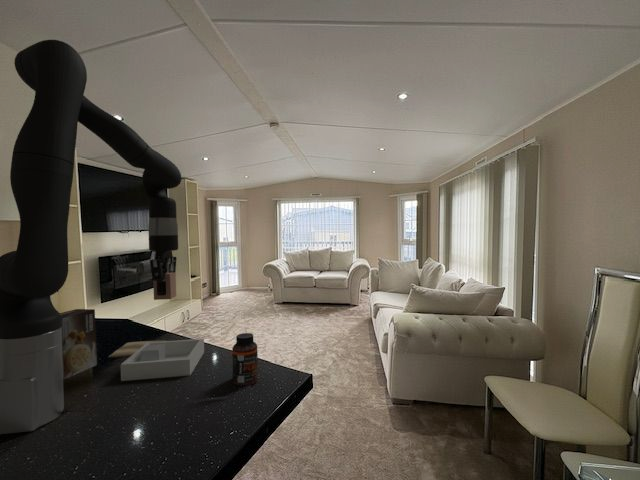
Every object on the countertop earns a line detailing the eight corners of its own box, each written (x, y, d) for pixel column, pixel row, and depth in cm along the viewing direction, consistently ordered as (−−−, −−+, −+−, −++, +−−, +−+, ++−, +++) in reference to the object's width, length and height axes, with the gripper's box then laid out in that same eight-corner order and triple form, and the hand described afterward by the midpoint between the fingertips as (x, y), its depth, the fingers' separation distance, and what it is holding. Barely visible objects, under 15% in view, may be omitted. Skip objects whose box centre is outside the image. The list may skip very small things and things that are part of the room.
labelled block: (170, 299, 86) (170, 274, 86) (153, 299, 86) (153, 274, 86) (176, 296, 91) (175, 272, 91) (160, 296, 90) (159, 272, 90)
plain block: (159, 368, 81) (158, 349, 81) (140, 370, 81) (140, 351, 81) (165, 361, 86) (164, 344, 86) (147, 363, 85) (147, 345, 85)
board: (152, 356, 92) (152, 353, 92) (108, 359, 90) (108, 356, 90) (166, 342, 103) (166, 339, 103) (127, 345, 102) (127, 342, 102)
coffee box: (78, 365, 86) (77, 308, 86) (97, 366, 85) (96, 308, 85) (43, 380, 77) (41, 316, 77) (64, 382, 76) (62, 317, 76)
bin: (190, 377, 77) (189, 359, 77) (121, 383, 75) (120, 364, 75) (204, 353, 93) (203, 338, 93) (147, 358, 90) (147, 342, 90)
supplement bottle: (245, 390, 70) (244, 341, 70) (227, 384, 73) (226, 336, 73) (263, 379, 75) (262, 333, 75) (245, 374, 78) (244, 330, 78)
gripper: (168, 233, 81) (170, 297, 82) (184, 234, 96) (186, 288, 96) (138, 234, 80) (139, 299, 81) (159, 234, 95) (160, 289, 95)
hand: (165, 293), depth 88 cm, fingers closed on labelled block, 4 cm apart
